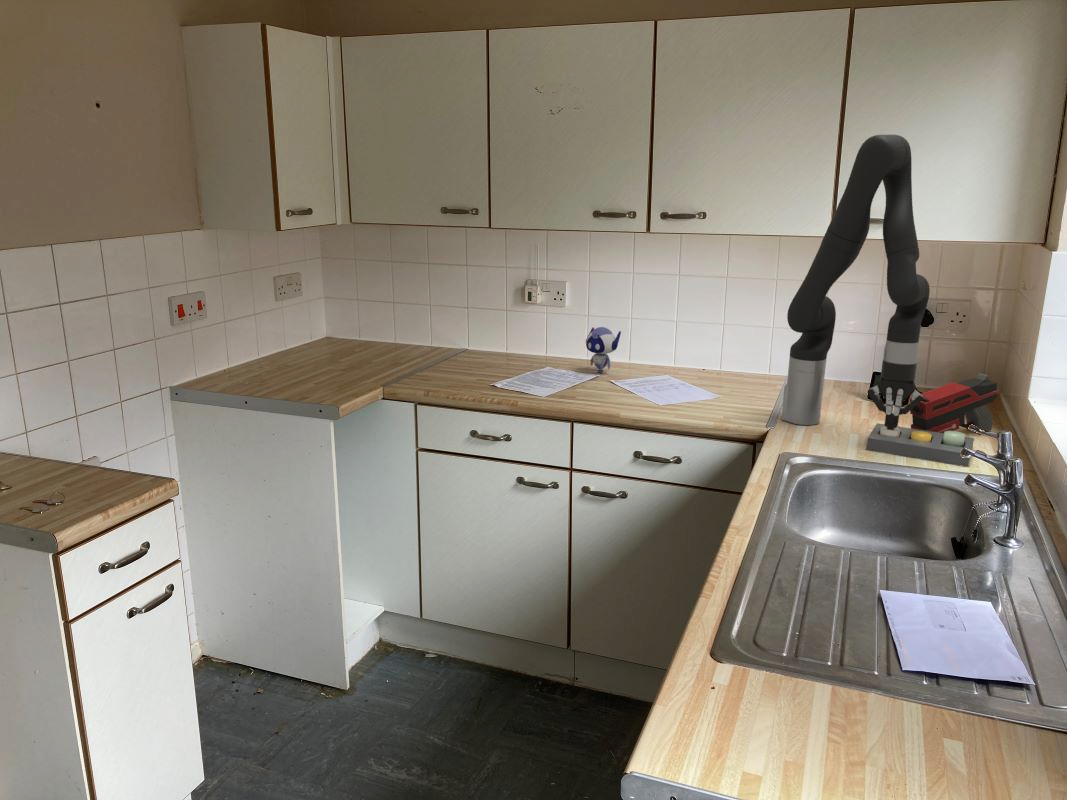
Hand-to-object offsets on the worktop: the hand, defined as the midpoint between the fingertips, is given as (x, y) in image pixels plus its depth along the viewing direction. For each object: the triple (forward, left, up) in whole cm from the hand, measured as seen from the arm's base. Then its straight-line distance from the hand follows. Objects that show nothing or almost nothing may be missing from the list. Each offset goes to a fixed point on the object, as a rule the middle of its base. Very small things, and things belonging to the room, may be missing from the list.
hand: (890, 428), depth 206 cm
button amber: (+7, 0, -3) cm, 8 cm away
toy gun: (+12, +18, -4) cm, 22 cm away
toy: (-91, +27, -4) cm, 95 cm away
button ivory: (0, 0, -4) cm, 4 cm away
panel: (+7, 0, -4) cm, 8 cm away
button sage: (+14, 0, -2) cm, 14 cm away
